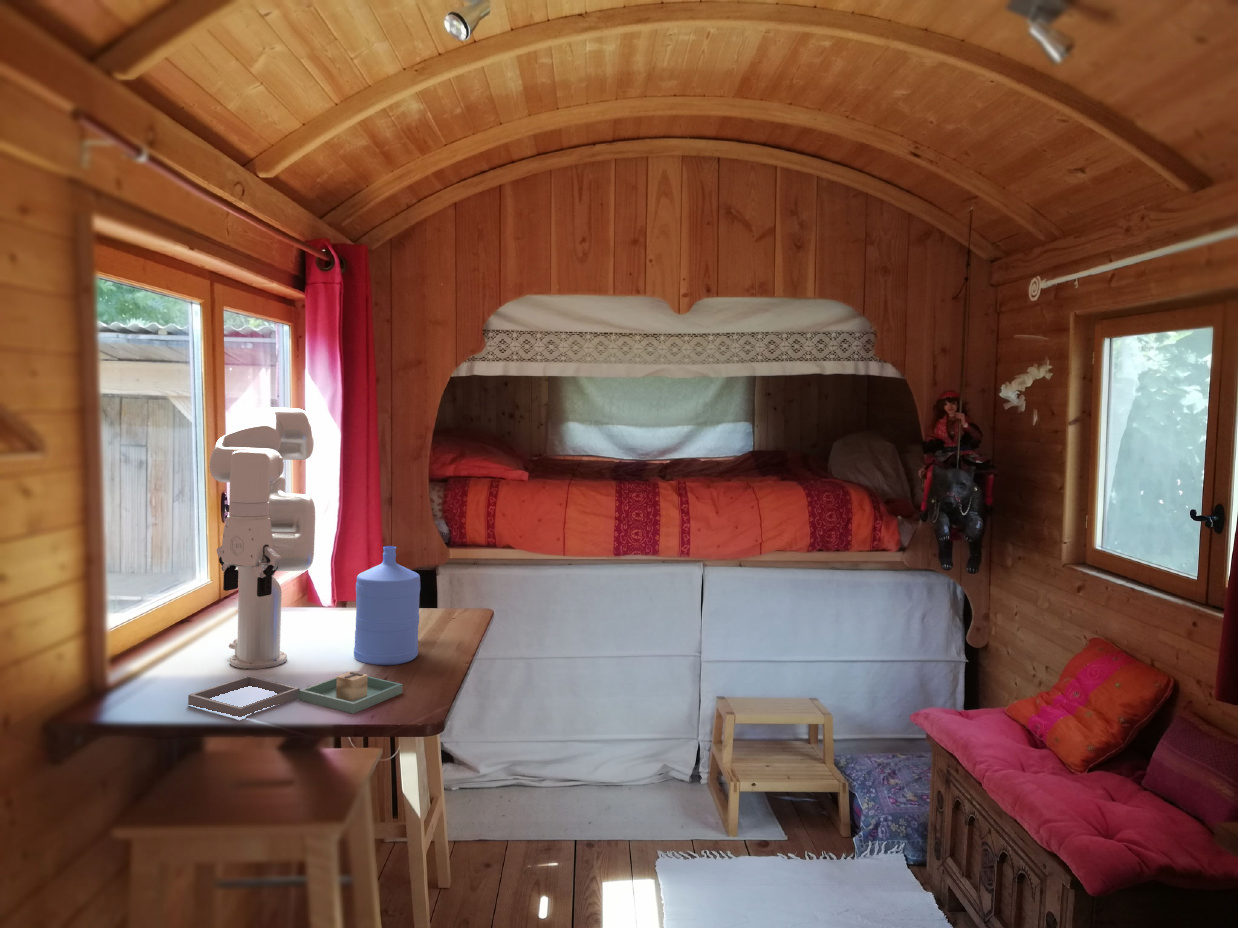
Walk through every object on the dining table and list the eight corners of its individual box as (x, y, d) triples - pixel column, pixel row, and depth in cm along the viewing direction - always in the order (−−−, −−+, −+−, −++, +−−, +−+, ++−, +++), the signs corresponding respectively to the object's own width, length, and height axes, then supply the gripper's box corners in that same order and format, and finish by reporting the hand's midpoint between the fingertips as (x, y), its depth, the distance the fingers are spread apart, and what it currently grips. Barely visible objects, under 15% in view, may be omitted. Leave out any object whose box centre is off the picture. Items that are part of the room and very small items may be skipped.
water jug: (429, 659, 210) (433, 549, 208) (372, 670, 199) (376, 554, 197) (398, 645, 221) (401, 540, 219) (342, 654, 210) (345, 544, 208)
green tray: (298, 701, 176) (299, 690, 176) (350, 682, 190) (350, 671, 190) (353, 715, 170) (353, 703, 170) (402, 694, 183) (402, 683, 183)
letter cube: (336, 697, 179) (336, 675, 178) (351, 691, 183) (351, 670, 182) (352, 701, 177) (352, 679, 176) (367, 695, 181) (367, 673, 180)
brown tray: (188, 706, 170) (188, 694, 170) (249, 686, 184) (249, 675, 184) (240, 720, 164) (240, 708, 164) (299, 699, 177) (299, 688, 177)
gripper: (204, 508, 172) (202, 590, 173) (264, 515, 164) (262, 601, 165) (235, 505, 179) (233, 584, 179) (294, 512, 171) (292, 595, 172)
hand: (247, 592), depth 172 cm, fingers open, 9 cm apart
